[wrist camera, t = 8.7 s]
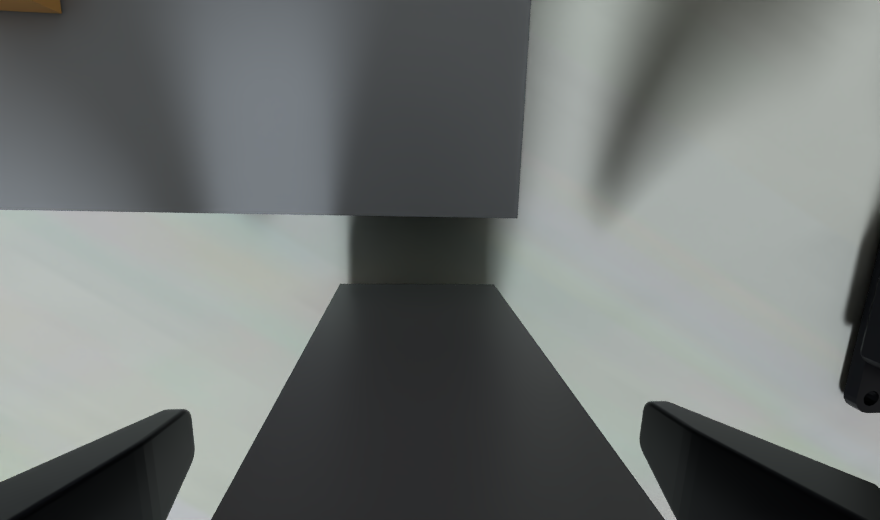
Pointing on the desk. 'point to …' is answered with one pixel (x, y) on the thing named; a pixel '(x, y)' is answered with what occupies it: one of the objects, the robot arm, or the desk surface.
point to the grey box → (429, 421)
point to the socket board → (265, 107)
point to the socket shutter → (31, 6)
